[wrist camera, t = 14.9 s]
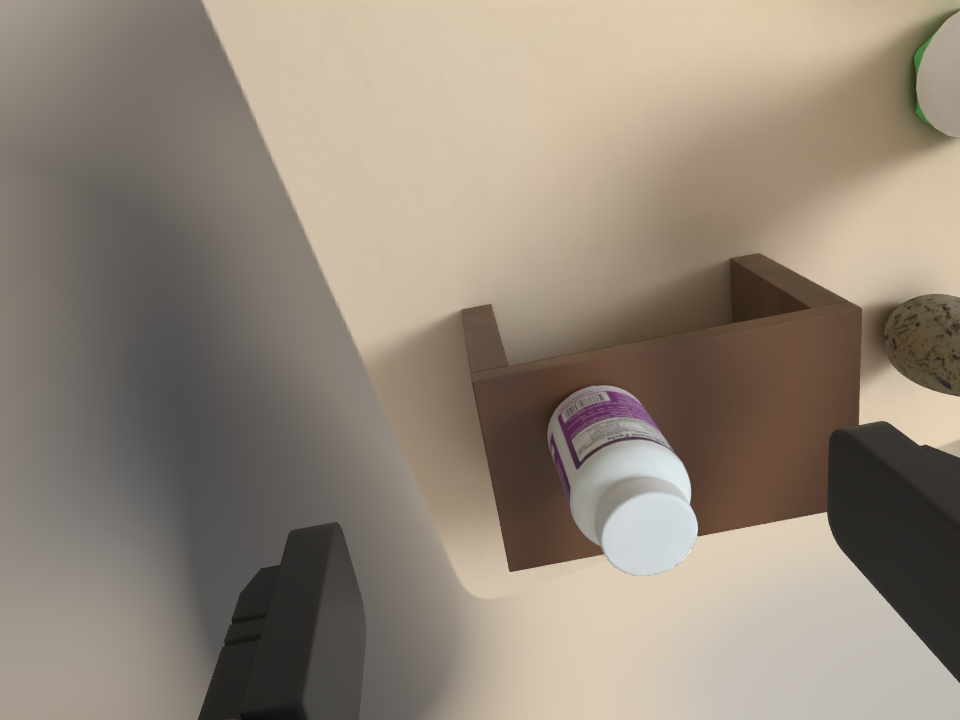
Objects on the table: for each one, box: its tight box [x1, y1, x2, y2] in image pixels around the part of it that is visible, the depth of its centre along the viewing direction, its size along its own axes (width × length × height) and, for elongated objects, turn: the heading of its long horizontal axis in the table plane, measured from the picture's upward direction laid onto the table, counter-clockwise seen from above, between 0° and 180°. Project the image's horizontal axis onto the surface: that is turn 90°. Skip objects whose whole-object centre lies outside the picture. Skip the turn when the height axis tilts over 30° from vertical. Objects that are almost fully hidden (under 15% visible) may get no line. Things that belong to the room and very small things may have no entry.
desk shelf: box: [461, 253, 862, 572], centre depth 44 cm, size 20×12×12 cm, turn 100°
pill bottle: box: [547, 385, 698, 576], centre depth 33 cm, size 5×5×10 cm
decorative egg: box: [883, 294, 960, 396], centre depth 45 cm, size 6×6×10 cm
